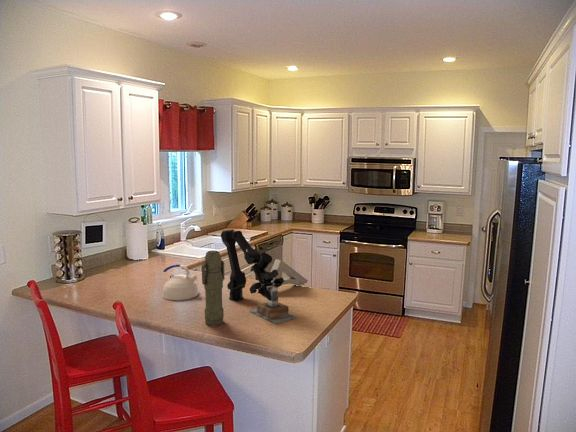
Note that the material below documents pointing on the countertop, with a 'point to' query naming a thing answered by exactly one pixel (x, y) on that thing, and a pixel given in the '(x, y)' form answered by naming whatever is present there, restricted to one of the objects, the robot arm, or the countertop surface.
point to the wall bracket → (288, 273)
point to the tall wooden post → (273, 297)
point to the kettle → (180, 286)
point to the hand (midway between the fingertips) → (274, 299)
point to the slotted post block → (273, 313)
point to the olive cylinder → (213, 287)
